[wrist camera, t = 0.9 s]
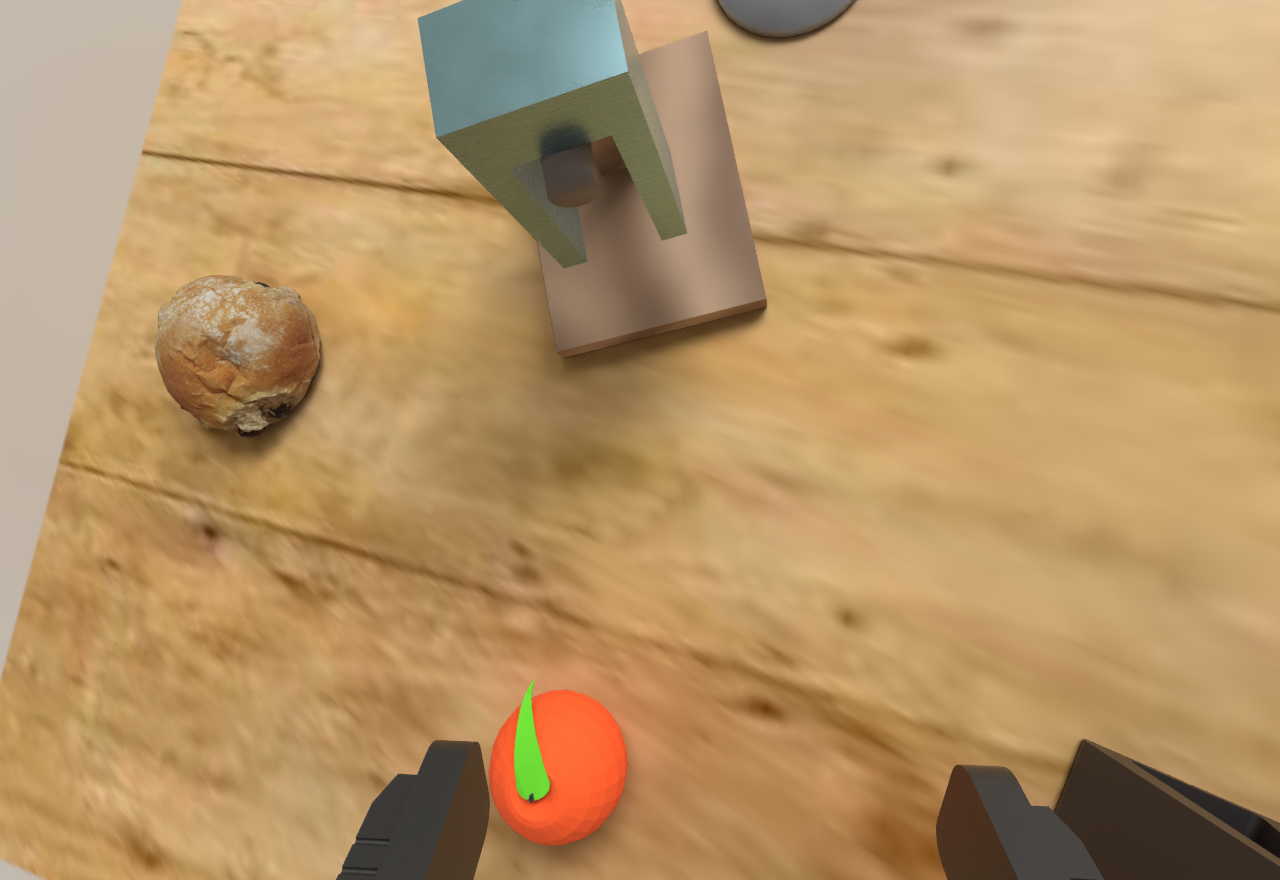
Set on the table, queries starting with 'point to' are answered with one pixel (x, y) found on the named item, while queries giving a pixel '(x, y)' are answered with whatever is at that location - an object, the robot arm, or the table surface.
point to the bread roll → (236, 352)
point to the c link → (545, 105)
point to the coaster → (783, 15)
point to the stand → (626, 236)
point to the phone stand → (1162, 824)
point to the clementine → (557, 767)
